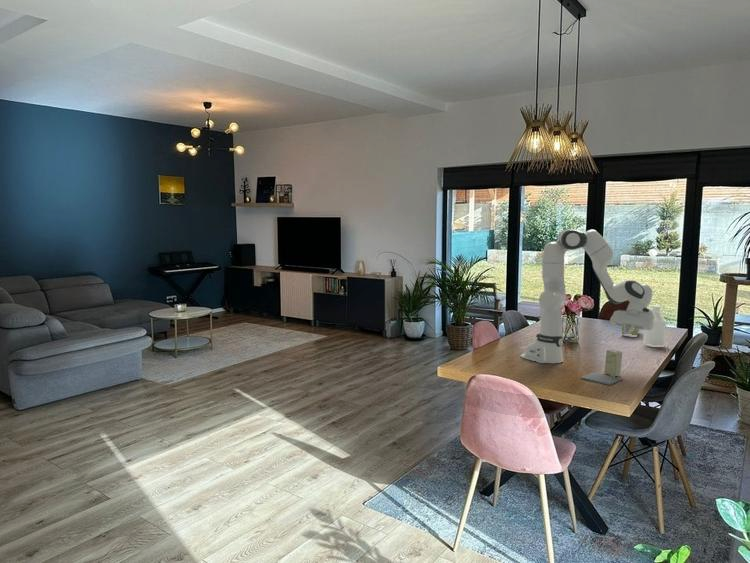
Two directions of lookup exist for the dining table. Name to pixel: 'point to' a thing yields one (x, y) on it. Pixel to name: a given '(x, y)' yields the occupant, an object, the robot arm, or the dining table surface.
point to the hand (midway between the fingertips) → (626, 333)
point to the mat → (601, 378)
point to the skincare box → (613, 362)
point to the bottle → (656, 329)
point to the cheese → (632, 331)
